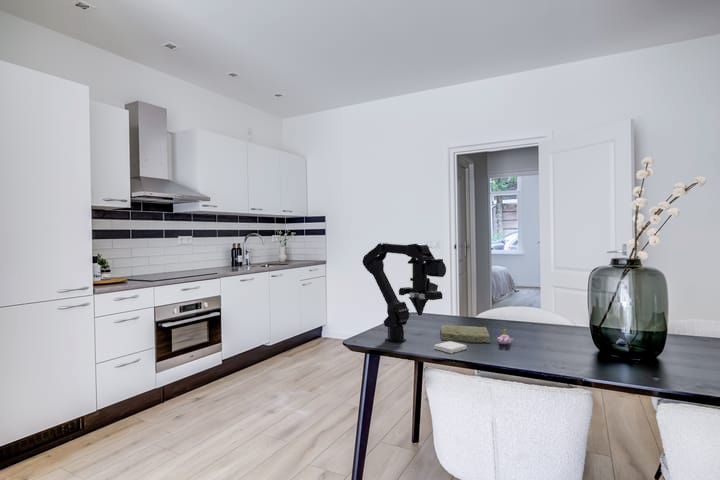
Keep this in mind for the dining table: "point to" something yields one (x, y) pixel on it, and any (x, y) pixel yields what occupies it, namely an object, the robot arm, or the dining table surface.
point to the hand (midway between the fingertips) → (419, 315)
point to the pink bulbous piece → (504, 338)
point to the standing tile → (450, 347)
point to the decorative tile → (465, 333)
